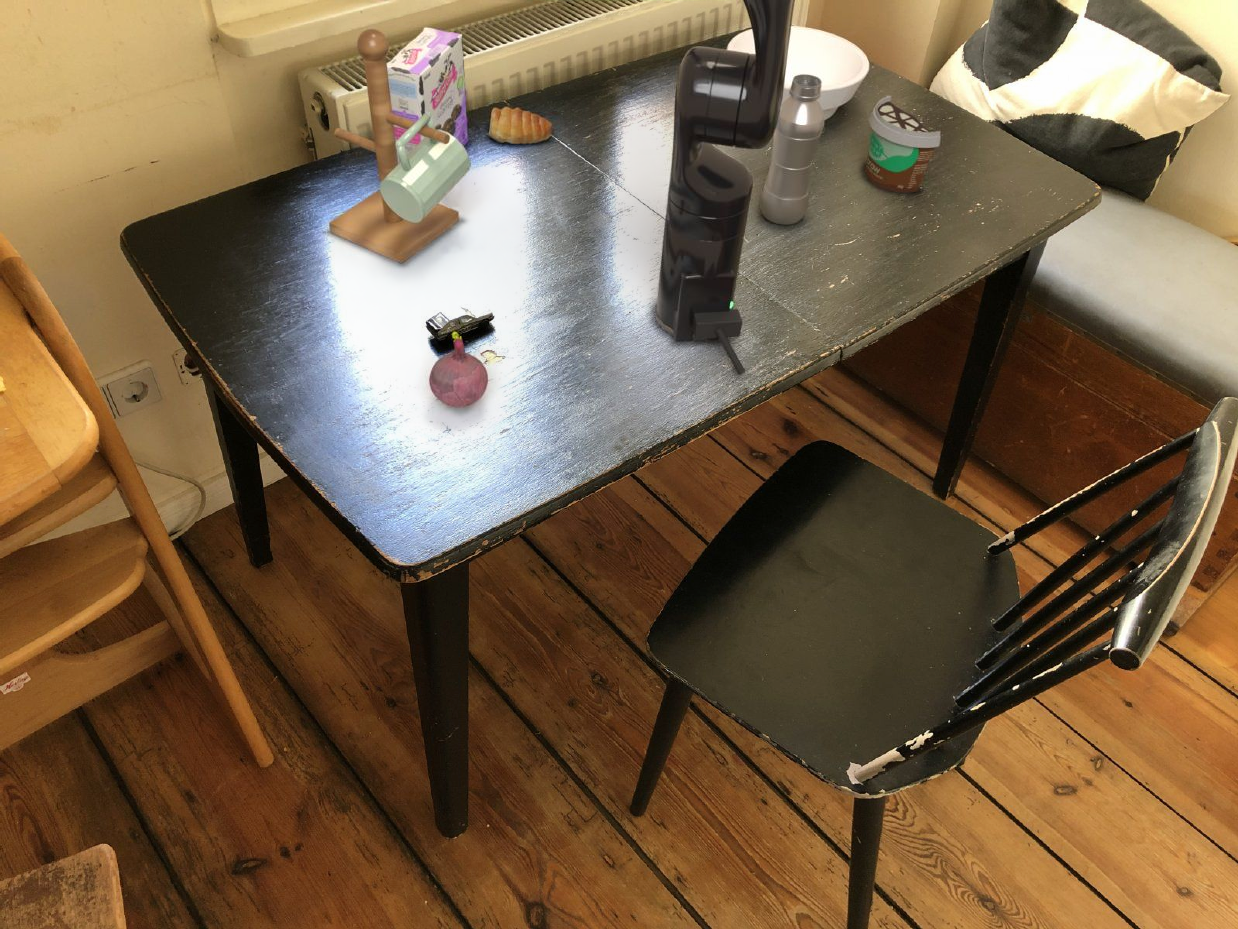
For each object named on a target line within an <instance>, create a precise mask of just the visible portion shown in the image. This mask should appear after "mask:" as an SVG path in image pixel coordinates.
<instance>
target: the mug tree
mask: <svg viewBox="0 0 1238 929" xmlns="http://www.w3.org/2000/svg"><path fill="white" fill-rule="evenodd" d="M356 47H357V51H358V53H359V55H360V56H361V58H362V61H363V67H364V75H365V83H366V89H367V97H368V104H369V112H370V120H371V126H372V135H373V140H370V139H369V138H366V137H363V136H361V135H358V134H356V133H354V132H351V131H348V130H345V129H343V128H340V127H337V128H335V130H334V136H335V138H338V139H340V140H342V141H345V142H348V143H350V144H352V145H355V146H358V147H360V148H363V149H365V150H367V151H370V152H372V153H375V157H376V164H377V172H378V179H379V180H378V181H379V184H380V183H381V181H382V180H383V179H384V178H385V177H386V176H387V175H388V174H389V173H390V172H391V171H392V170H393V169H394V168H395V167H396V166H397V165H398V157H397V149H396V146H395V143H396V140H395V131H394V125H396V126H399V127H401V128H404V129H407V130H408V129H409V128H410V127H411V126H412V125H413V124H414V123H415V122H414V121H412V120H409V119H406V118H404V117H401V116H398V115H396V114H393V113H392V105H391V97H390V88H389V80H388V71H387V62H388V61H387V56H388V54H389V51H390V44H389V40H388V38H387V37H386V35H385V34H384V33H383V32H382V31H380V30H379V29H376V28H368V29H365V30H363V31H362V32H361V33H359V36H358V38H357V41H356ZM417 134H420V135H422V136H425V137H427V138H430V139H433V140H435V141H438V142H440V143H443V144H448V142H449V140H450V136H449V135H448V134H446V133H443V132H441V131H438V130H435V129H433V128H430V127H427V126H424V127H423V128H422V129H421V130H420V131H419V132H418V133H417ZM459 221H460V216H459V211H458V210H456V209H453V208H450V207H448V206H446V205H444V204H441V203H438V204H437V205H436V206H435V207H434V208H433V209H432V210H431V212H430V213H429V214H428V215H427V216H426V217H425V218H423V220H422V221H420V222H418V223H413V222H409V221H407V220H405V219H403V218H401V217H400V216H399V215H397V214H396V213H395V212H394V211H393V210H392V209H391V208H390V207H389V206H388V205H387V203H386V202H385V200H384V199H383V197H382V195H381V192H380V188H379V189H377V190H376V191H375V192H373V193H372V194H370V195H369V196H367V197H366V198H364V199H363V200H361V201H359V202H358V203H356V204H355V205H353V206H352V207H351V208H349V209H347V210H346V211H344V212H342V213H341V214H340V215H338V216H337V217H335V218H334V219H332V220H331V221H329V222H328V225H329V230H330V233H331V234H334V235H336V236H338V237H340V238H343V239H345V240H347V241H349V242H352V243H354V244H356V245H358V246H361V247H363V248H365V249H368V250H370V251H372V252H374V253H376V254H379V255H380V256H381V255H382V256H384V257H386V258H388V259H390V260H393V261H395V262H397V263H399V264H403V263H405V262H406V261H407V260H408V259H410V258H412V257H413V256H414V255H416V254H417V253H418V252H420V251H421V250H422V249H424V248H425V247H426V246H428V245H429V244H430V243H431V242H433V241H435V239H437V238H438V237H439V236H441V235H442V234H444V233H445V232H447V231H448V230H449V229H451V228H452V227H453V226H455V225H456V224H457V223H459Z"/></svg>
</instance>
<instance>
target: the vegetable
mask: <svg viewBox="0 0 1238 929" xmlns="http://www.w3.org/2000/svg"><path fill="white" fill-rule="evenodd" d="M451 337H452V339H454V340H452V342H453V346H454V351H453V352H450V353H447V354H445V355H443V356H441V357H439V358H438V359H437V361H436V362H435V363H434V365H433V366H432V367H431V370H430V373H429V377H428V382H429V384H428V385H429V387H430V391H431V392H432V393H433V395H434V396H435V397H436V398H437V400H439V402H441V403H442V404H445V405H446V406H450V407H456V408H464V407H469V406H470V405H473V404H475V403H476V402H478V401H479V400H481V399H482V397H483V396H484V394H485V392H486V390H487V387H488V384H489V375H488V371H487V368H486V367H485V365H484V364H483V362H482V361H481V360H480V359H479V358H477V357H476V356H474V355H472V354H470V353H469V352H466V349H465V345H464V342H463V341H464V340H463V338H462V336H461V335H460V334H459V333H458V332H457V331H453V332H452V333H451Z"/></svg>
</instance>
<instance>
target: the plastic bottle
mask: <svg viewBox="0 0 1238 929" xmlns="http://www.w3.org/2000/svg"><path fill="white" fill-rule="evenodd" d="M821 86H822V81H821V79H819V78H818V77H816V76H813V75H809V74H799V75H796V76H794V77H793V80H792V85H791V87H790V91H789V93H790V95H791V96H790V97H789V98H787V99H786V100H785V101H784V102H783V103H782V104H781V110H780V115H779V120H778V123H777V127H776V130H775V132H774V135H773V137H772V148H771V159H770V164H769V169H768V172H767V175H766V176H767V177H766V180H765V183H764V185H763V186H762V190H761V193H760V196H759V210H760V212H761V214H762V215H763V217H764V218H765V219H766V220H767V221H769V222H771V223H774V224H777V225H783V226H784V225H786V226H787V225H794V224H796V223H798V222H799V221H801V220H802V219H803V218H804V216H805V214H806V212H807V210H808V207H809V200H810V199H809V197H810V196H809V194H810V193H809V186H810V178H811V177H810V176H811V170H812V165H813V161H814V158H815V153H816V150H817V147H818V144H819V141H820V139H821V135H822V133H823V130H824V126H825V120H824V114H823V112H822V109H821V107H820V105H819V103H818V101H817V99H819V98H820V94H821V92H820V90H821Z"/></svg>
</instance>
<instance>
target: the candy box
mask: <svg viewBox="0 0 1238 929" xmlns="http://www.w3.org/2000/svg"><path fill="white" fill-rule="evenodd" d="M463 43H464V42H463V34H462V33H457V32H453V31H448V30H443V29H437V28H433V27H428V26H427V27H424V28H423V29H422V30H421V32H420V33H419V34H417V35H416V36H415V37H414V38H413V39H411V41H410V42H409V43H407V44H406V45H405V46H404V47H402V49H400V50H399V51H398V52H397V53H396V54H395V55H393V57H392V58H390V59H389V60H388V61H386V62H387V71H388V80H389V88H390V97H391V105H392V113H393V114H396V115H398V116H401V117H404V118H406V119H409V120H412V121H414V122H416V121H417V120H418V119H419V118H420V117H421V116H422V115H423V114H424V113H426V112H429V113H431V115H432V118H433V122H434V126H435V130H439V129H440V130H442V131H445V132H448V133H449V134H451V135H452V136H453V137H455V138H456V139H457V140H458V141H459V142H460V143H461V144H462V145H463V146H464V147H465V146H466V145H467V144H468V142H469V141H470V140H469V126H468V110H467V93H466V77H465V74H466V72H465V60H464V44H463ZM425 126H426V125H425ZM394 131H395V140H396V141H397V140H398V139H399V138H400V137H401V136H402V135H403V134H404V133H405V132H406V131H407V129H404V128H401V127H399V126H396V125H394ZM424 138H425V136H422V135H420V134H416V135H415V136H414V137H413V138H412V139H411V140H410V141H409V142H408V143H407V144H406V145H405V149H406V152H407V155H408V154H409V153H410V152H411V151H412V150H413V149H414V148H415V147H416V146H417V145H418V144H419V143H420V142H421V141H422V140H423V139H424ZM397 157H398V164H399V163H400V162H401V161H400V158H399V155H398V152H397Z"/></svg>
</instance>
